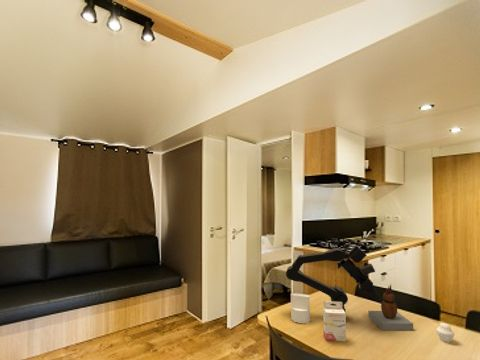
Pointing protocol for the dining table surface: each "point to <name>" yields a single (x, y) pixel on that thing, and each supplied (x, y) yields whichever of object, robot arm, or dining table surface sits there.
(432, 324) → the dining table surface
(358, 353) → the dining table surface
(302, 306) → the base with upright slab
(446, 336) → the muffin
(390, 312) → the wooden figurine
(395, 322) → the plinth
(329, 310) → the ink cartridge box
